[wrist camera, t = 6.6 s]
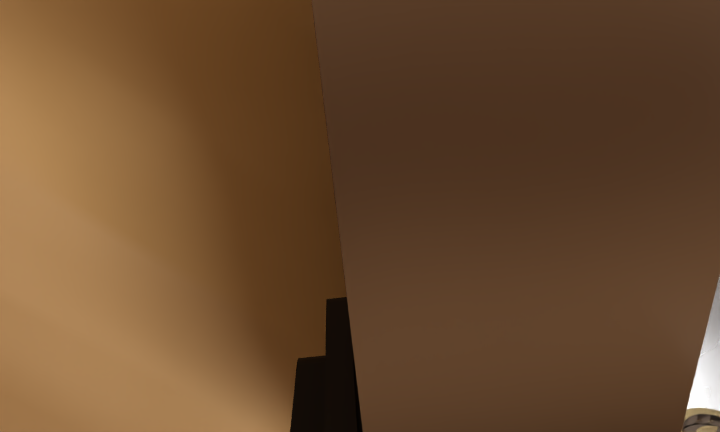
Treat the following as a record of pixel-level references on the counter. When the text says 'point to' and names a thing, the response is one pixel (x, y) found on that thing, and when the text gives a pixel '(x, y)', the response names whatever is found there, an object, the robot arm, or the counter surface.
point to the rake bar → (524, 207)
